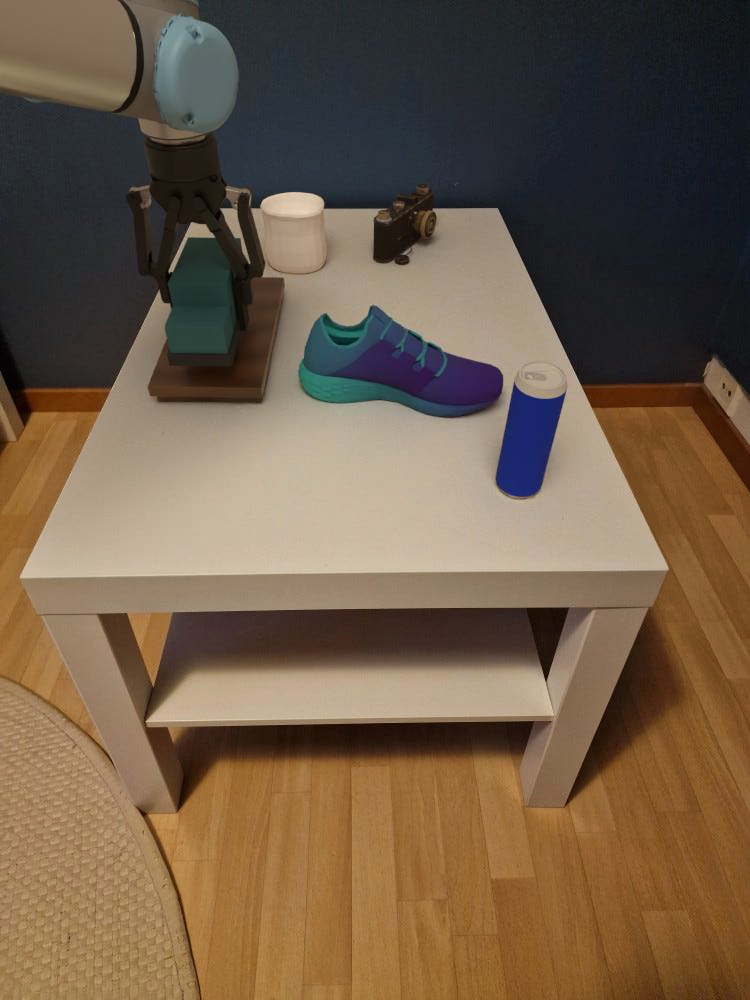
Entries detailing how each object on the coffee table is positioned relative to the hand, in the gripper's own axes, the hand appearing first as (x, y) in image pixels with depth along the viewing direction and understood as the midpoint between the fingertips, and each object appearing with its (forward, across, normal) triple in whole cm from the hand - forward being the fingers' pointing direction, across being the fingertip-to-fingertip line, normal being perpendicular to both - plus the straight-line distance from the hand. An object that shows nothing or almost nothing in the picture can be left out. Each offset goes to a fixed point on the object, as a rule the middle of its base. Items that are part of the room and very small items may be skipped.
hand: (212, 324), depth 88 cm
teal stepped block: (0, 0, 0) cm, 0 cm away
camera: (+7, +27, +36) cm, 46 cm away
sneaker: (+7, +24, -5) cm, 26 cm away
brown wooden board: (+6, 0, +5) cm, 8 cm away
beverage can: (+6, +37, -22) cm, 44 cm away
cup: (+7, +8, +30) cm, 31 cm away
